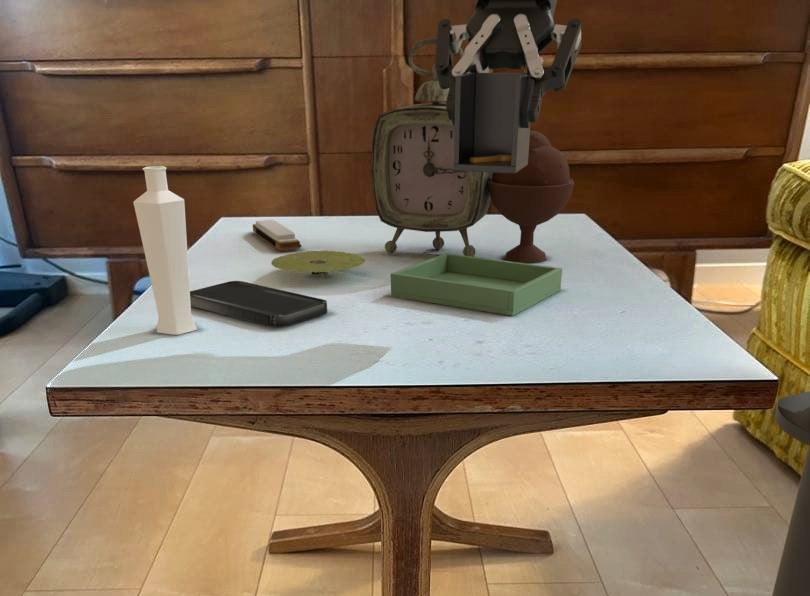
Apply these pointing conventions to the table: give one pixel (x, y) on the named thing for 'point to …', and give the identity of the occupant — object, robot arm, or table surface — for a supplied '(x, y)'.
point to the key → (490, 158)
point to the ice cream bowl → (532, 195)
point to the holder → (490, 121)
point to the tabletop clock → (424, 168)
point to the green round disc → (318, 262)
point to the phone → (258, 303)
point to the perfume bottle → (165, 251)
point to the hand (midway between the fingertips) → (489, 120)
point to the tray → (477, 283)
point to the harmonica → (276, 235)
